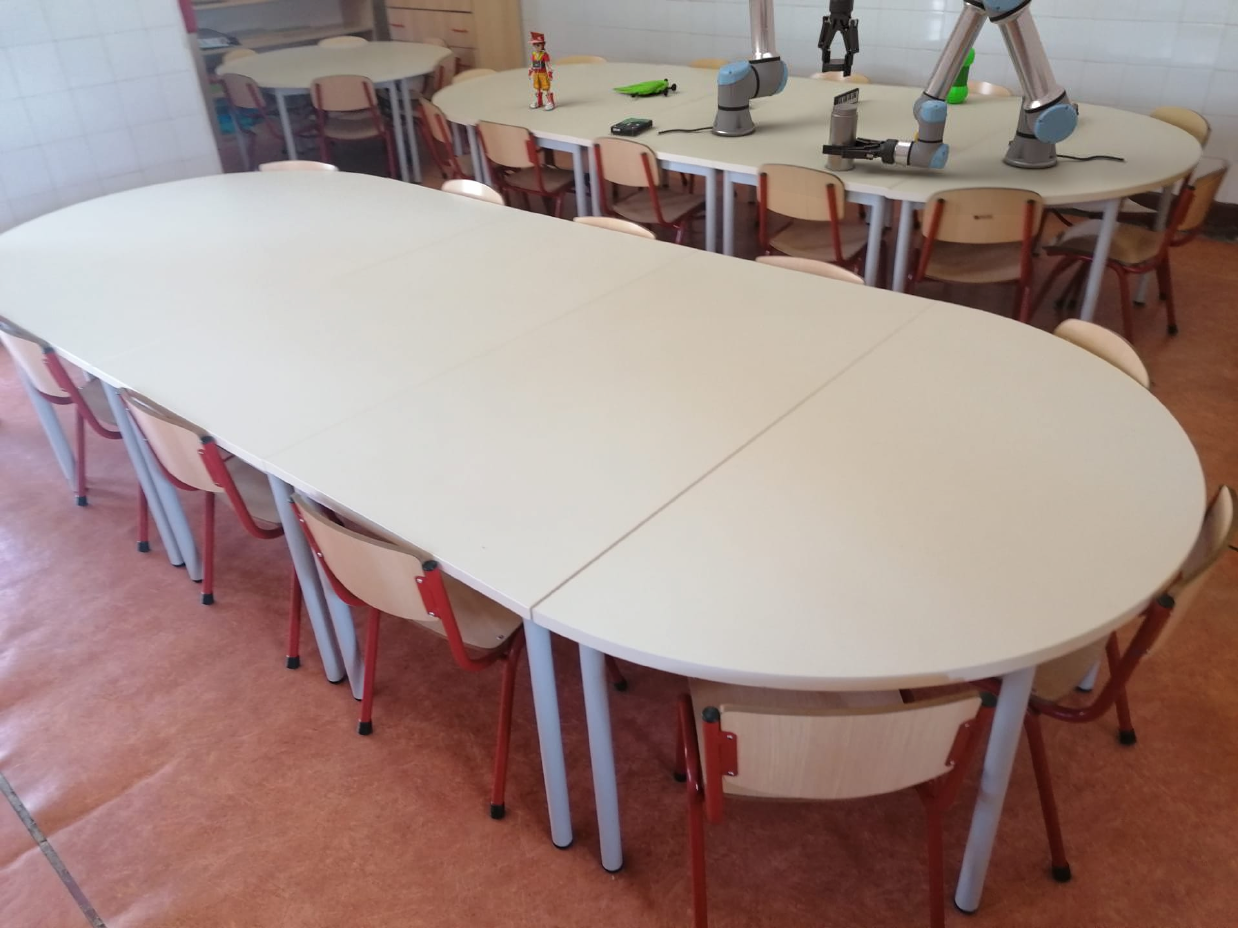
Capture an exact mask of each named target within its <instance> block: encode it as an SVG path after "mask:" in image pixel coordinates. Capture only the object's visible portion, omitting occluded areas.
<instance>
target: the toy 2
mask: <svg viewBox="0 0 1238 928" xmlns="http://www.w3.org/2000/svg"><path fill="white" fill-rule="evenodd" d="M669 85H670V83H669V79H668V78H664V79H663V80H649V81H644V82H640V83H634V84H629V85H627V86H621V87H613V88H612V89H613V90H616V91H619V92H623V93H627V94H628V93H629V94H631V95H630V96H631V98H632V99H634V98H636V96H637V95H650V94H652V93H654V94H658V93H662V95H663V96H665V97H667V96H668V95H669V90H671V91H672V92H676V91H677V84H676V83H672V84H671V86H669Z"/></svg>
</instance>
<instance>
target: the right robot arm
mask: <svg viewBox="0 0 1238 928" xmlns="http://www.w3.org/2000/svg"><path fill="white" fill-rule="evenodd" d="M1032 2H1033V0H962V4H963V7H962V9H961V12H960V14H959V16H958V18H957V20H956V22H955V24H954V26H953V29H952V31H951V33H950V35H949V38H947V41H946V43H945V46H944V47H943V49H942V52H941V53H940V56H939V58H938V59H937V62H936V64H935V66H934V68H933V70H932V73H931V74H930V77H929V79H928V81H927V83H926V85H925V86H924V89H923V91H922V93H921V95H920V97H918V98H917V99H916V100H915V102H914V103H913V107H912V113H913V114H912V115H913V117H914V119H915V120H916V122H917V124H918V131H917V132H918V139H917V141H915V140H911V139H910V140H908V139H900V140H899V139H898V138H897V139H896V138H887V139H886V140H879V139H871V138H865V137H859V136H858V137H856V143H855V148H844V145H843V146H832V145H829V144H823V145H822V151H821V152H822V155H828V154H829V155H839V156H842V157H841V158H843V159H844V158H846V159H854V160H869V161H873V160H874V159H877V158H880V159H881V163H882V164H884V165H894V164H895V165H896V166H902V167H903V168H906V167H915V168H923V169H929V170H930V169H932V170H933V169H934V170H935V169H937V170H941V169H943V168H944V167H945V166H946V164H947V162H948V159H949V155H950V145H949V144H948V143H945V142H944V133H945V128H946V121H947V117H948V104H947V103H948V102H947V101H946V98H947V96H948V94H949V92H950V90H951V88H952V86H953V84H954V82H955V80H956V78H957V77H958V75H959V73H960V71H961V69H962V67H963V65H964V63H965V61H966V59H967V57H968V55H969V53H970V51H971V49H972V48H974V45H975V43H976V41H977V39H978V36H979V35H980V32H981V30H982V29H983V27H984V26H985V25H984V24H985V23H986V21H987V19H989V23H992V24H994V25H997V27H998V29H999V31H1000V34H1001V37H1002V39H1003V42H1004V44H1005V47H1006V49H1007V52H1008V56H1009V58H1010V61H1011V62H1012V65H1013V69H1014V70H1015V73H1016V76H1017V78H1018V81H1019V84H1020V87H1021V89H1022V91H1023V95H1022V97H1021V104H1020V105H1021V106H1020V110H1019V115H1018V120H1017V124H1016V125H1017V126H1016V131H1015V136H1014V138H1013V139H1012V140H1009V141H1008V145H1007V146H1008V149H1007V151H1006V153H1005V155H1004V162H1005V163H1006V164H1008V165H1009V166H1012V167H1016V168H1022V169H1032V170H1033V169H1035V170H1036V169H1047V168H1050V167H1053V166H1055V165H1056V164H1057V163H1056V162H1057V159H1058V158H1064V159H1070V160H1075V161H1088V160H1092V159H1110V160H1116V161H1121V162H1124V161H1125V158H1123V157H1116V156H1111V155H1091V156H1087V157H1079V156H1074V155H1066V154H1057V147H1056V146H1057V145H1056V144H1059V143H1061V142H1063V141H1065V140H1066V139H1068V138H1069V137H1070V136H1072V134H1073V133H1074V131H1075V129H1076V127H1077V124H1078V119H1079V118H1078V116H1077V113H1076V110H1075V109H1074V108H1073V107H1072V106H1071V104H1070V102H1071V101H1070V99H1069V96H1068V94H1067V91H1066V87H1065V86H1064V85H1060V84H1058V83H1057V81H1056V78H1055V76H1054V73H1053V70H1052V68H1051V65H1050V62H1049V59H1048V56H1047V54H1046V51H1045V48H1044V45H1043V41H1042V40H1041V37H1040V34H1039V32H1038V28H1037V25H1036V23H1035V21H1034V18H1033V14H1032V13H1031V9H1030V6H1031V5H1032Z"/></svg>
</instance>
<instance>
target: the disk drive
mask: <svg viewBox="0 0 1238 928" xmlns="http://www.w3.org/2000/svg"><path fill="white" fill-rule="evenodd" d="M651 128H653V119H647V118H637V117H636V118H635V117H629V118H627V119H624V120H621V121H619V122H618V123H615V124H613V125H612V126H610V134H613V135H614V134H615V135H620V136H636V135H638V134H640V133H642V132H644V131H646V130H649V129H651Z"/></svg>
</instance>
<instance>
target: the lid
mask: <svg viewBox="0 0 1238 928" xmlns="http://www.w3.org/2000/svg"><path fill="white" fill-rule="evenodd" d="M822 63H823V64H822V65H821V70H822V69H823V70H825V71H829V73H831V72H834V73H839V72H843V70H844V58H830V59H828V60H824V61H822Z"/></svg>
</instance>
